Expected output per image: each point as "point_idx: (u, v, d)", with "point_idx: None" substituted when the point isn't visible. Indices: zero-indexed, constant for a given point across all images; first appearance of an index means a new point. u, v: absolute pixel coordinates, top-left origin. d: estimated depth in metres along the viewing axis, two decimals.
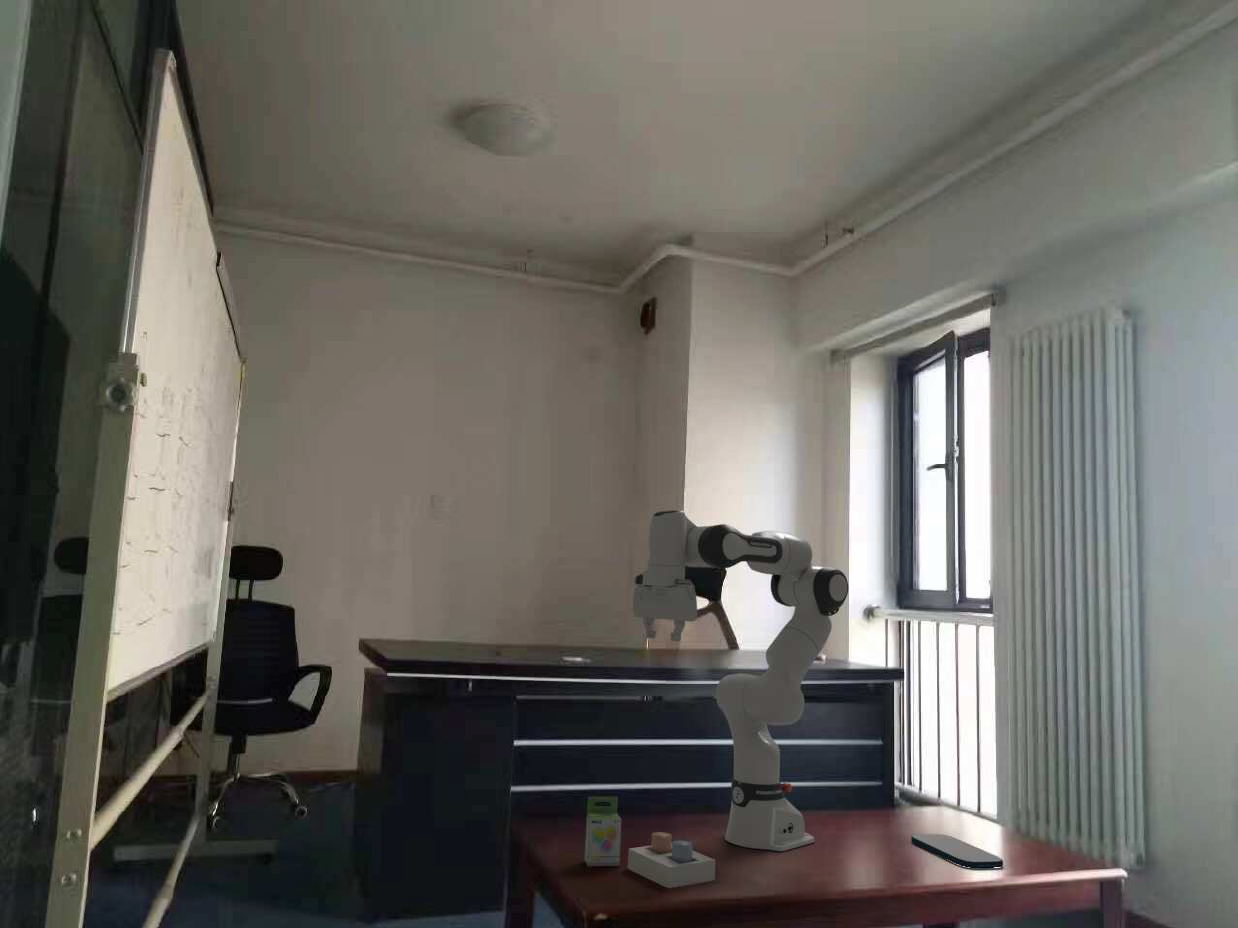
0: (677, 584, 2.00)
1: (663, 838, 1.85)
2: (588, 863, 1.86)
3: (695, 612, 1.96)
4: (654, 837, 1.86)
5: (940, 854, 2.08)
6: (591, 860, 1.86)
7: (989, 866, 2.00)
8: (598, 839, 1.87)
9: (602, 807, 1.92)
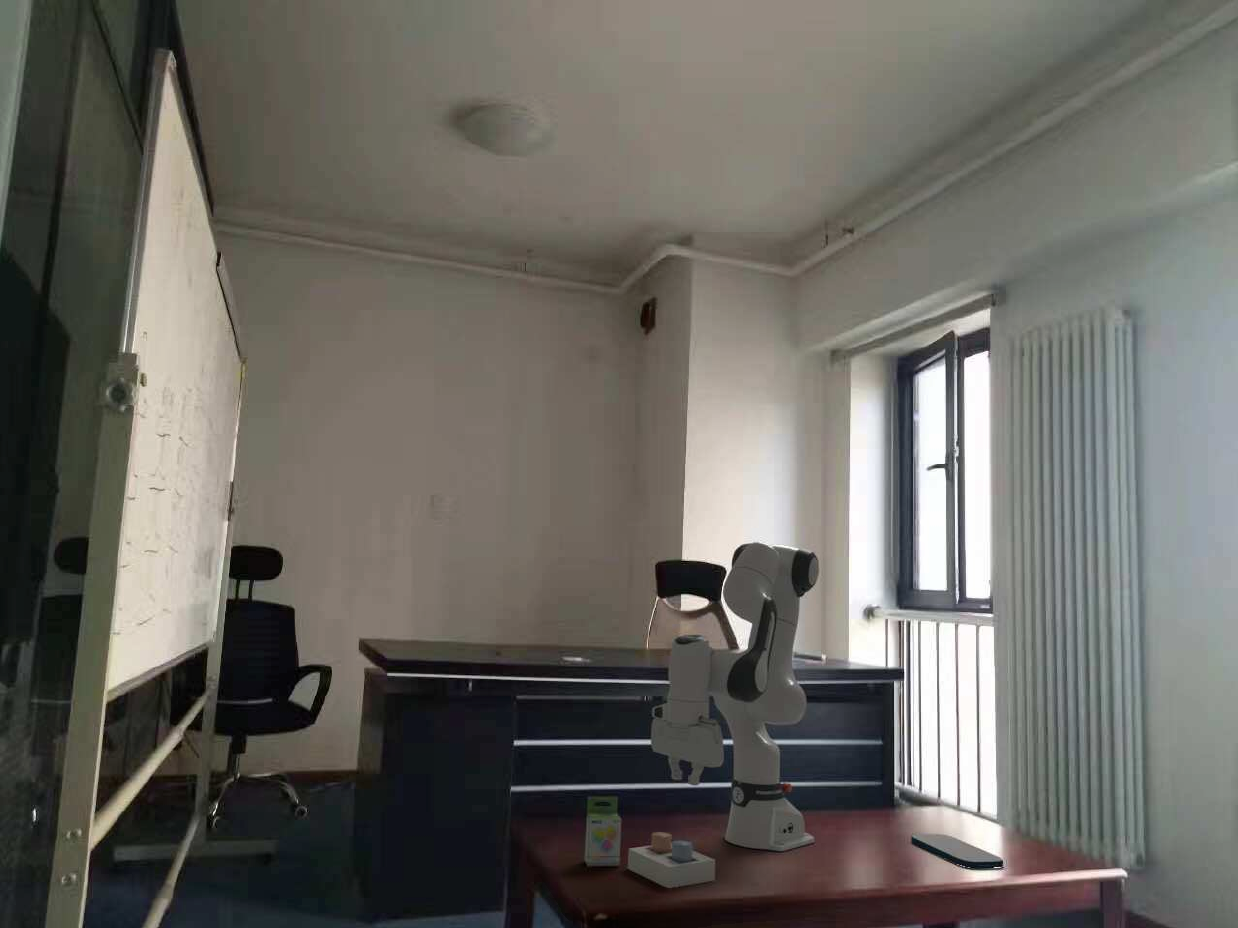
0: (701, 722, 1.81)
1: (663, 838, 1.85)
2: (588, 863, 1.86)
3: (721, 757, 1.77)
4: (654, 837, 1.86)
5: (940, 854, 2.08)
6: (591, 860, 1.86)
7: (989, 866, 2.00)
8: (598, 839, 1.87)
9: (602, 807, 1.92)
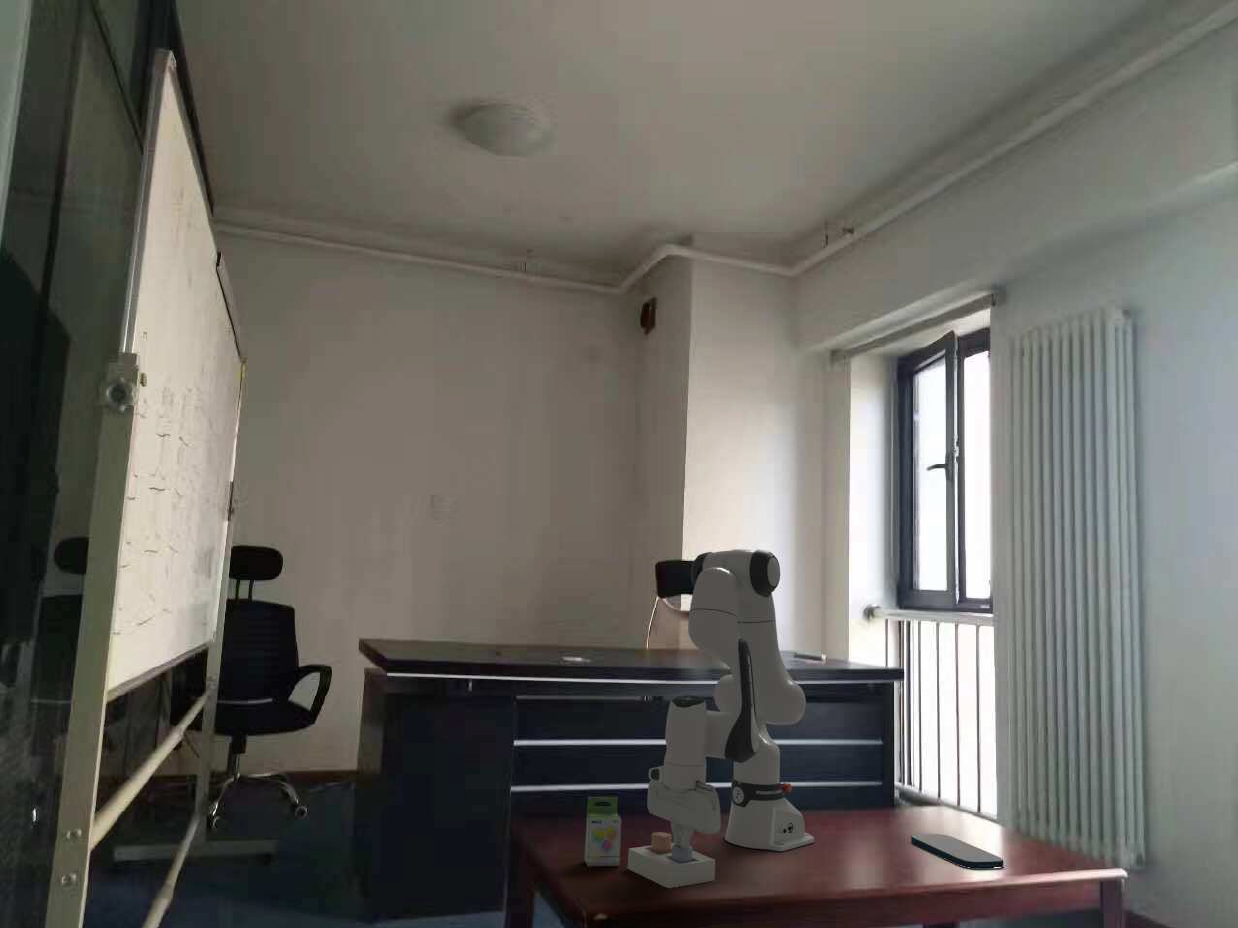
0: (698, 787, 1.79)
1: (663, 838, 1.85)
2: (588, 863, 1.86)
3: (718, 823, 1.75)
4: (654, 837, 1.86)
5: (940, 854, 2.08)
6: (591, 860, 1.86)
7: (990, 866, 2.00)
8: (598, 839, 1.87)
9: (602, 807, 1.92)
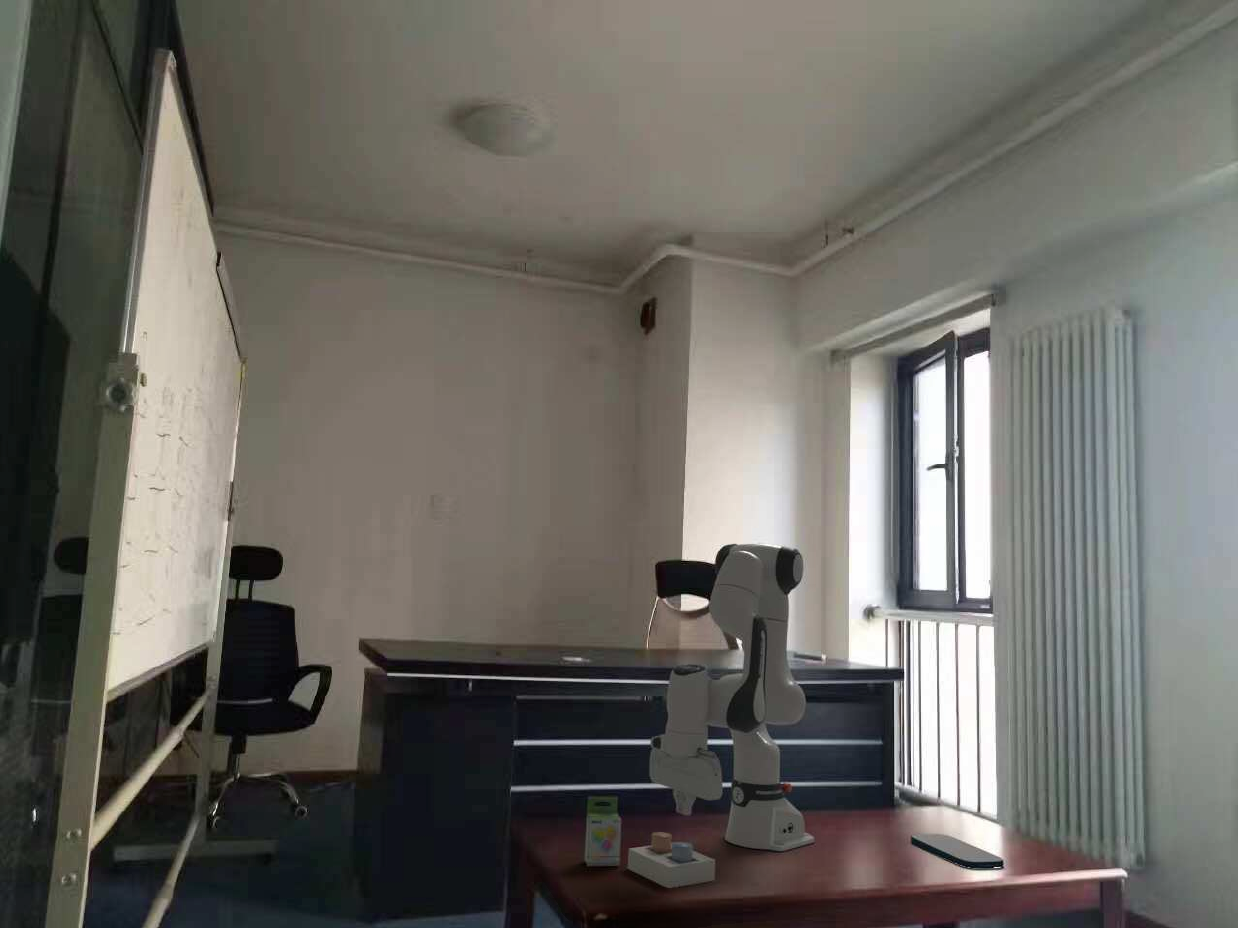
0: (700, 754, 1.80)
1: (663, 838, 1.85)
2: (588, 863, 1.86)
3: (720, 789, 1.76)
4: (654, 837, 1.86)
5: (940, 854, 2.08)
6: (591, 860, 1.86)
7: (990, 866, 2.01)
8: (598, 839, 1.87)
9: (602, 807, 1.92)
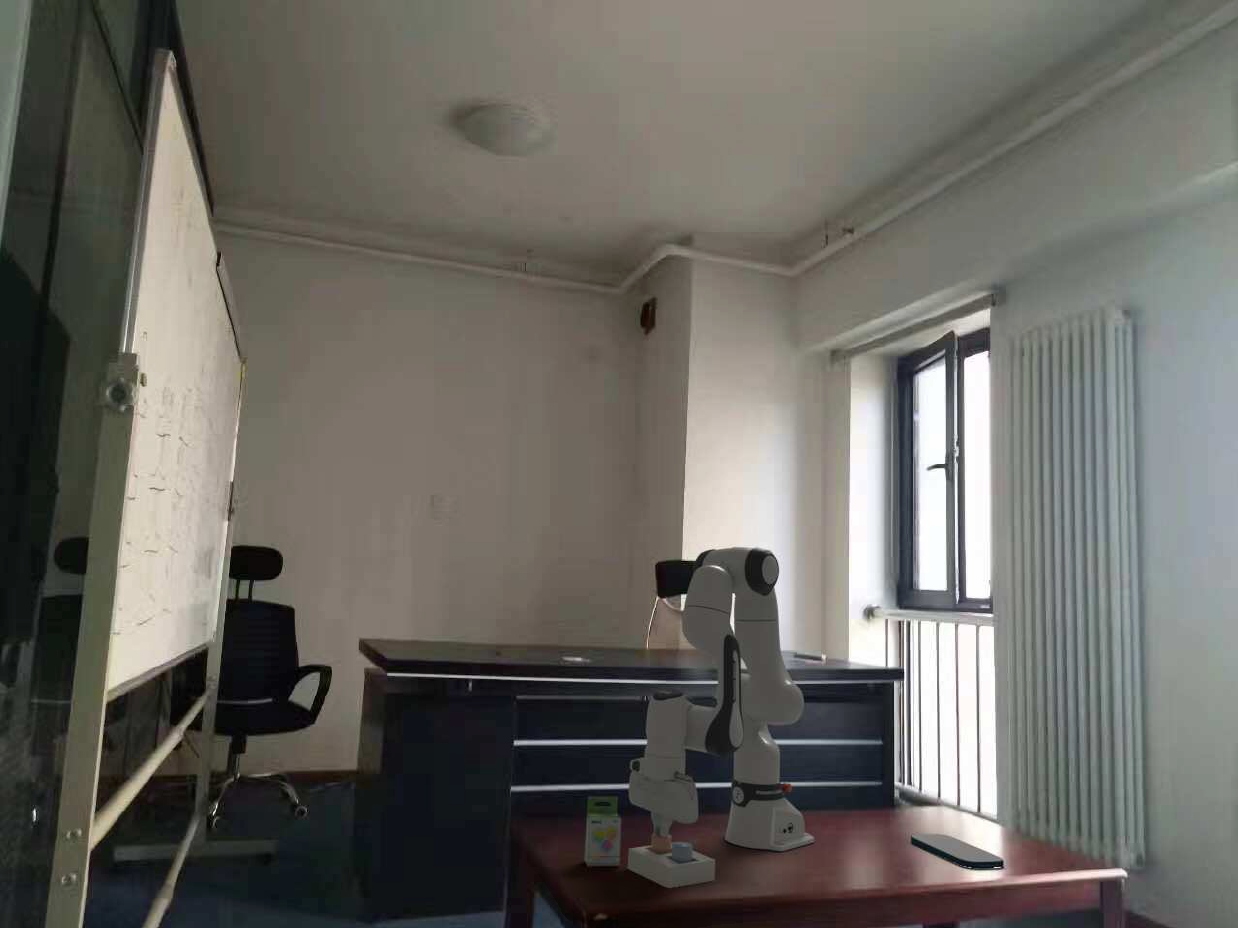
0: (677, 778, 1.85)
1: (663, 839, 1.85)
2: (588, 863, 1.86)
3: (696, 813, 1.81)
4: (654, 838, 1.86)
5: (940, 854, 2.08)
6: (591, 860, 1.86)
7: (990, 866, 2.01)
8: (598, 839, 1.87)
9: (602, 807, 1.92)
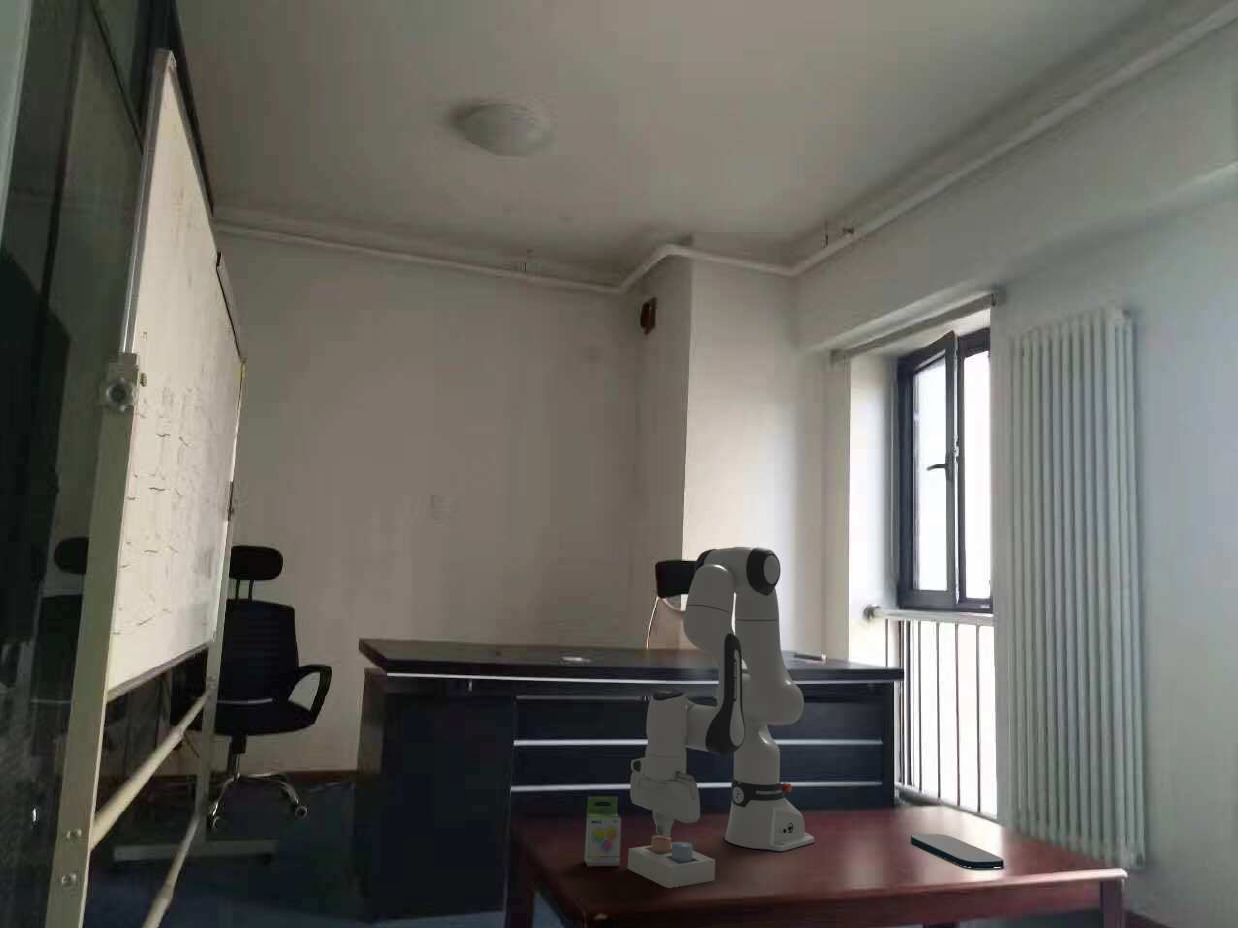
0: (678, 778, 1.85)
1: (663, 841, 1.85)
2: (588, 863, 1.86)
3: (698, 812, 1.81)
4: (654, 840, 1.86)
5: (941, 854, 2.08)
6: (591, 860, 1.86)
7: (990, 866, 2.01)
8: (598, 839, 1.87)
9: (602, 807, 1.92)
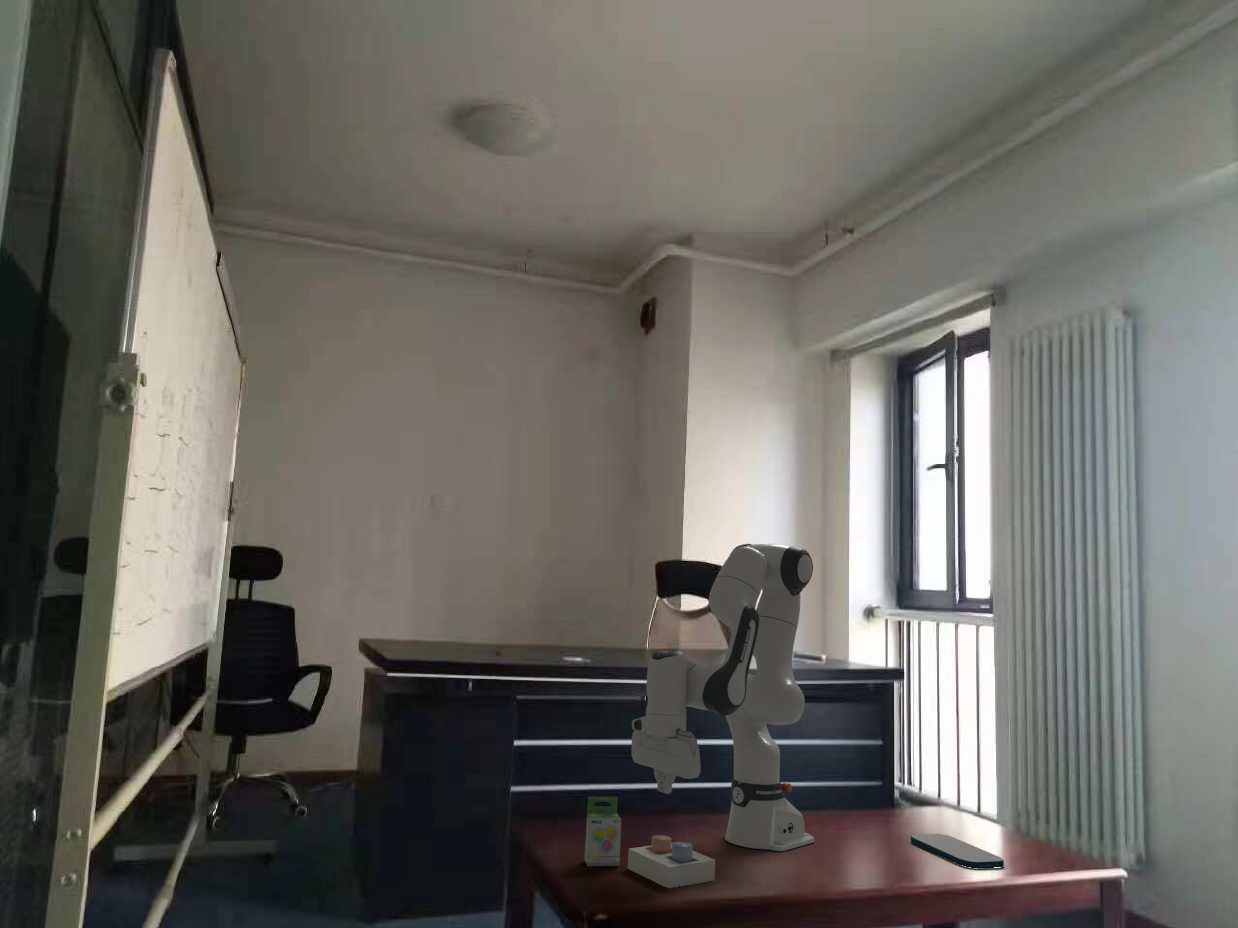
0: (678, 735, 1.87)
1: (663, 841, 1.85)
2: (588, 863, 1.86)
3: (698, 768, 1.83)
4: (654, 840, 1.86)
5: (941, 854, 2.08)
6: (591, 860, 1.86)
7: (990, 866, 2.01)
8: (598, 839, 1.87)
9: (602, 807, 1.92)
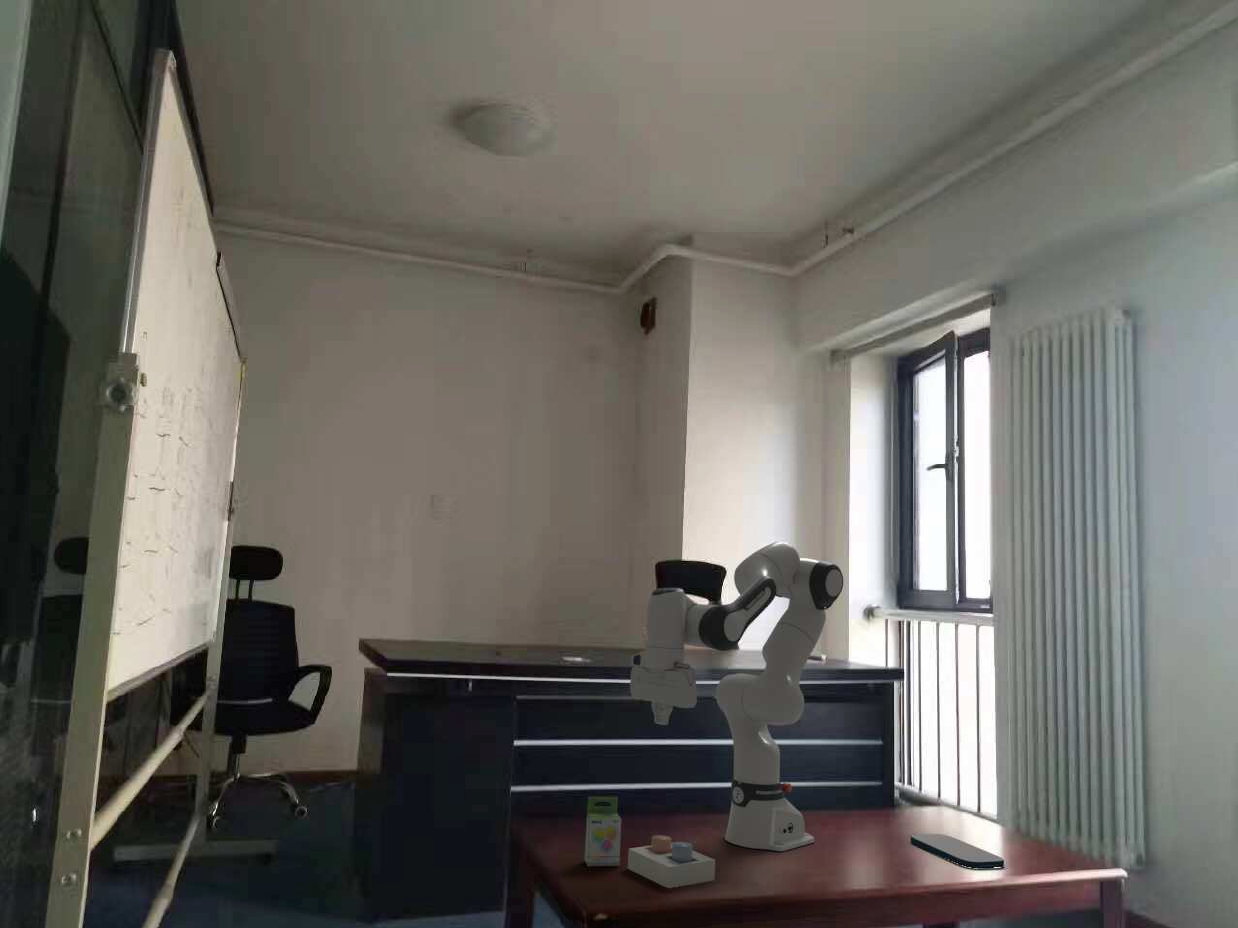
0: (676, 667, 1.93)
1: (663, 841, 1.85)
2: (588, 863, 1.86)
3: (695, 698, 1.89)
4: (654, 840, 1.86)
5: (941, 854, 2.08)
6: (591, 860, 1.86)
7: (991, 866, 2.01)
8: (598, 839, 1.87)
9: (602, 807, 1.92)
